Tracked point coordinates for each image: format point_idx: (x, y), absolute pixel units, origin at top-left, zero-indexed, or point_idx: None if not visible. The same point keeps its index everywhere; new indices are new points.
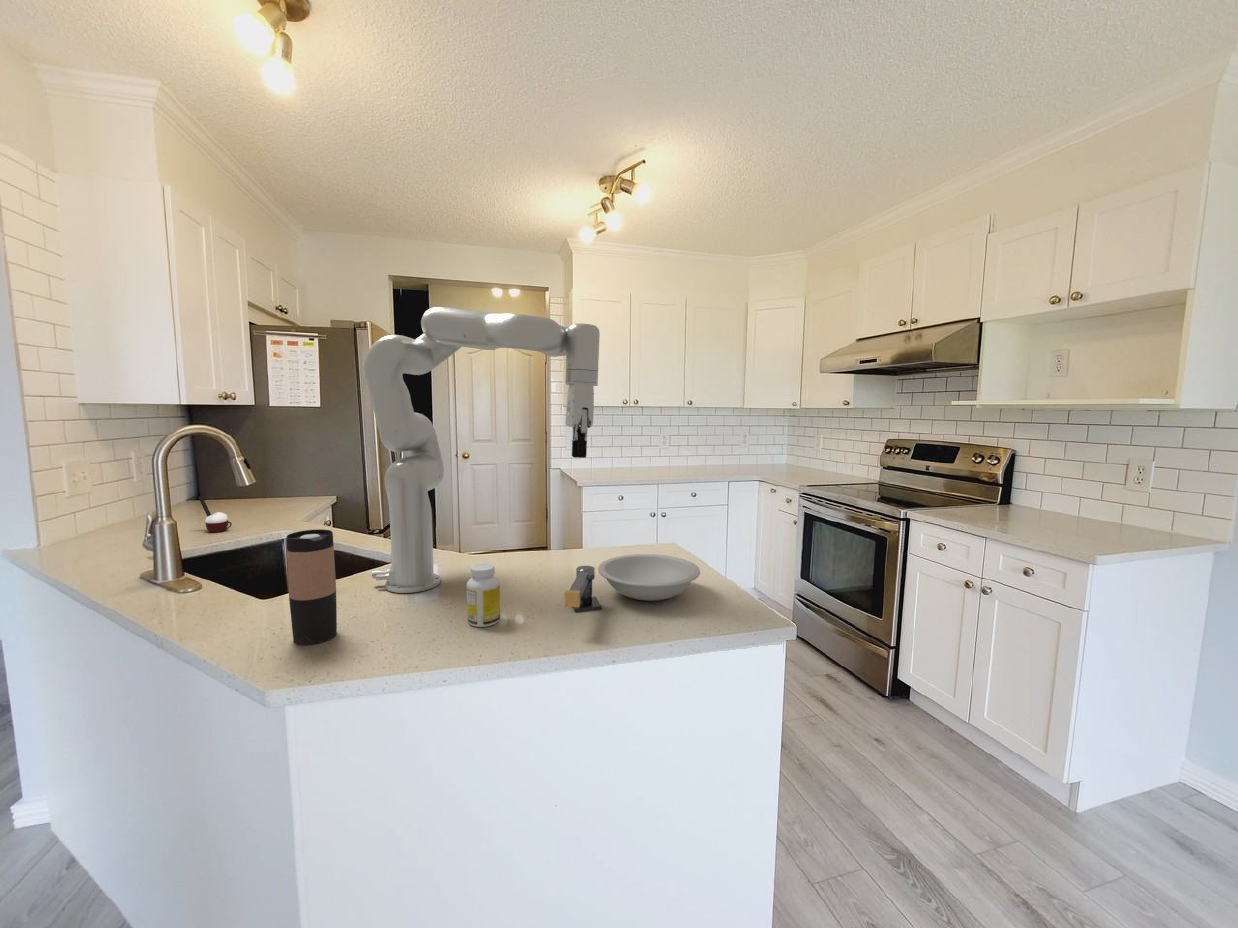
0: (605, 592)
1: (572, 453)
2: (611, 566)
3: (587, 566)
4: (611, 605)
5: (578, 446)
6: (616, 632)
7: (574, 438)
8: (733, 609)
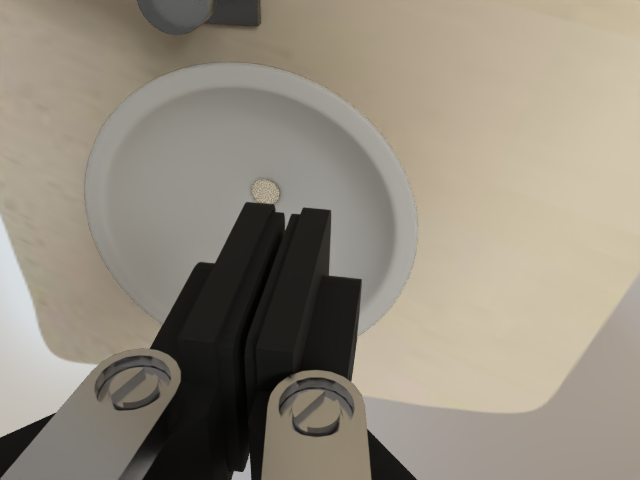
0: (318, 77)
1: (298, 226)
2: (350, 137)
3: (194, 12)
4: (205, 59)
5: (171, 328)
6: (16, 9)
7: (180, 380)
8: (134, 322)
